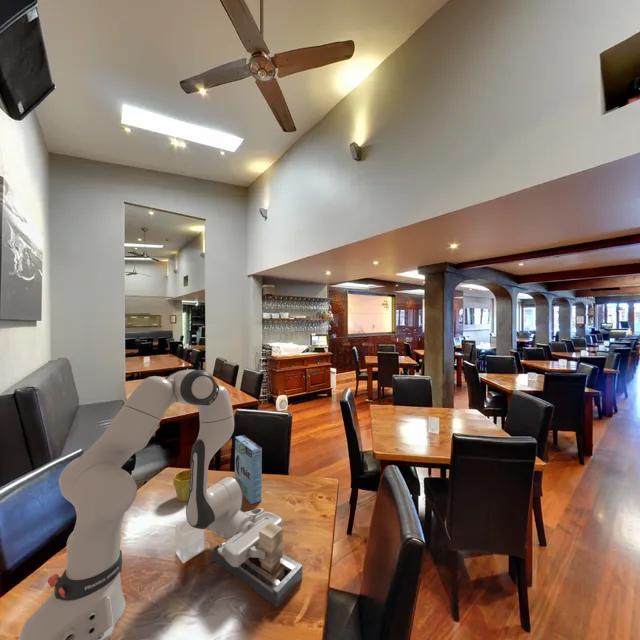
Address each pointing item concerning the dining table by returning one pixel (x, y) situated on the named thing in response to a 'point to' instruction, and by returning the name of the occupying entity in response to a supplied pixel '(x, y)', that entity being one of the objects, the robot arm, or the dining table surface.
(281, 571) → the birch keyhole peg
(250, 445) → the gum box
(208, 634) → the dining table surface
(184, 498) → the plant pot
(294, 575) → the grey slotted frame
